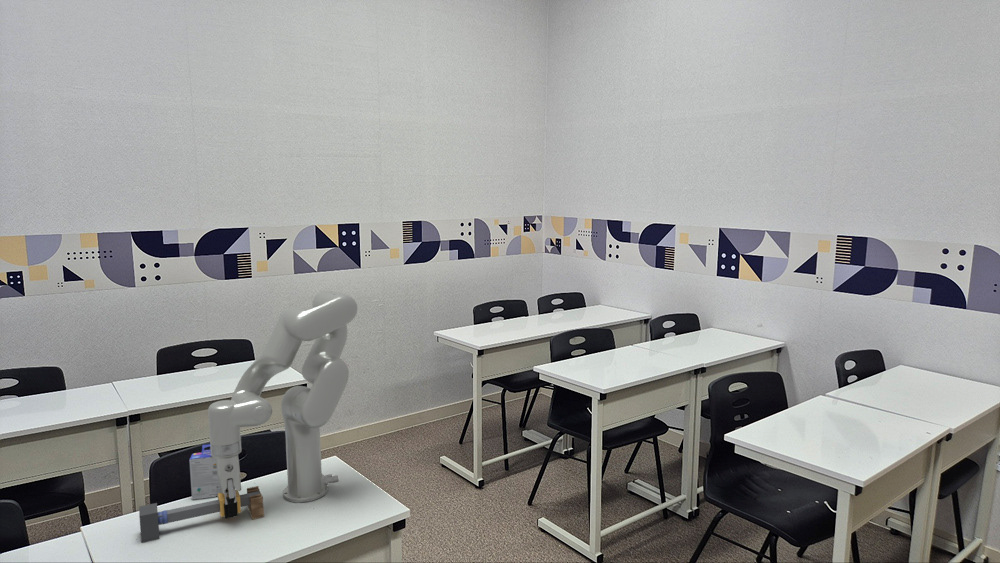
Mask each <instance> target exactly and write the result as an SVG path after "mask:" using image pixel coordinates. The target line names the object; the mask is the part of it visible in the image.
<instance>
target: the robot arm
mask: <svg viewBox="0 0 1000 563" xmlns="http://www.w3.org/2000/svg"><path fill="white" fill-rule="evenodd" d="M357 314H358V304H357V301H356V300H355V298H353V297H352V296H350V295H349V294H345V293H341V292H337V291H332V290H322V291H319V292H318V293H316V294H315V296H313V300H312V308H309V309H307V308H303V307H297V306H292V307H291V306H290V307H288V308H286V309H284V310H283V311H282V313H281V314H280V315H279V316H278V319H277V321H276V323H275V325H274V328H273V330H272V331H271V333H270V336H269V338H268V340H267V343H266V344H265V346H264V349H262V351H261V353H260V355H259V356H258V357H257V358H256V359H255V361H253V363H251V365H249V367H247V369H246V370H245V371H244V373H243V375H242V376H241V377H240V379H239V381H238V382H237V385H236V387H235V389H234V391H233V393H232V395H231V399H222V400H217V401H214V402H213V403H211V404H210V405H209V407H208V408H207V413H208V414H207V415H208V417H207V418H208V430H209V431H208V432H209V444H210V447H209V450H210V449H211V456H212V457H214V458H216V465H217V475H218V481H219V486H220V489H221V492H222V494H224V498H225V504H224V515H225V516H224V519H231V518H235V517H238V516H239V513H238V509H237V501H236V491H235V490H237V491H238V492H241V491H242V482H241V470H240V469H241V468H240V459H239V454H240V453H242V434H241V428H245V427H248V428H249V427H257V426H261V425H263V424H266V423H267V422H268V421H269V420H270V419H271V417H272V415H273V407H272V405H271V403H270V402H269V401H268V400H266V399H265V398H263V397H262V396H261V395H262V392H263V391H264V388H265V386H266V385H267V383H269V381H270V380H271V379H272V378H273V377H274V376H276V375H278V374H280V373H282V372H284V371H286V370H288V369H290V367H291V366H292V364H293V362H294V360H295V358H296V356H297V353H298V352H299V349H300V347H301V345H302V343H303V342H310V341H314V342H313V344H312V345H311V348H310V350H309V352H308V353H307V356H306V358H305V360H304V362H303V364H302V367H301V375H302V377H303V379H304V380H305V381H306V382H308V383H310V384H311V387H308V386H303V385H296V386H293V387H290V388H289V389H288V390H286V392H285V393H284V394H283V396H282V397H281V398H282V399H281V402H280V403H281V404H280V406H281V408H280V410H281V415H282V420H283V424H284V431H285V432H284V434H285V452H286V454H285V456H286V468H287V469H286V470H287V473H286V474H287V475H286V476H287V486H286V487H285V488H283V490H282V498H284V500H286V501H288V502H293V503H305V502H307V503H308V502H311V501H315V500H318V499H321V497H324V496H325V495H326V494H327V493H328V490H329V486H328V485H329V484H333V483H338V482H339V481H340V479H339V475H338V474H336V475H333V474H332V473H329V474H325V475H324V474H323V472H322V469H323V468H322V451H321V450H322V446H321V429H320V428H321V427H323V426H325V425H326V424H327V423H328V422H329V421H330V419H331V418H332V416H333V415H334V412H335V411H336V409H337V406H338V404H339V402H340V399H341V398H342V395H343V393H344V391H345V389H346V386H347V385H348V381H349V376H350V375H349V374H350V372H349V368H348V364H347V363H346V361H344V360H343V359H341V358H340V357H341V355H342V353H343V351H344V348H345V345H346V344H347V339H348V324H349V323H351V322H352V321H353V320H354V319H355V318H356V316H357ZM227 491H228V492H227ZM228 494H229V497H227V495H228Z"/></svg>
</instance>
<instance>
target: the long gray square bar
mask: <svg viewBox="0 0 1000 563" xmlns="http://www.w3.org/2000/svg"><path fill="white" fill-rule="evenodd" d="M258 494H262V492H261V491H257V492H252V493H247V492H246V493H244V494H243V493H242V494H239V495H240V503H241V508H244V507H248V506H249V505H250V496H253V495H258ZM160 512H163V515H159V516H158V517H162V516H163V523H161V524H158V525H159V526H160V525H166V524H170V523H174V522H175V523H176V522H179V521H184V520H189V519H193V518H198V517H202V516H207V515H211V514H216V513H220V502H219V500H218V499H215V500H211V501H205V502H199V503H195V504H191V505H187V506H185V505H184V506H181V507H178V508H177V507H176V508H172V509H166V510H162V511H160Z"/></svg>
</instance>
